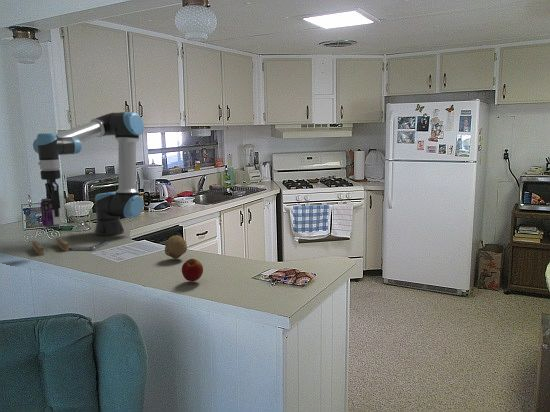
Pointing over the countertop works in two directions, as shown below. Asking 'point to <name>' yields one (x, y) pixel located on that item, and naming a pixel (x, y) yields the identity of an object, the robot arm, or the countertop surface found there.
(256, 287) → the countertop surface
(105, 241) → the hinge
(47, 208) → the beverage can
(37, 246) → the guide channel
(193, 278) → the apple
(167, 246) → the natural sponge
